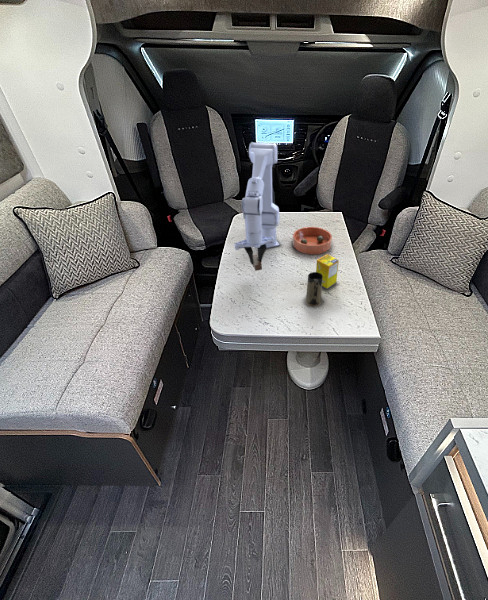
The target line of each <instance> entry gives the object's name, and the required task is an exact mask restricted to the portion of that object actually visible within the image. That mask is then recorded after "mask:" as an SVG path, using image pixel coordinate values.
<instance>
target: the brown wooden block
mask: <svg viewBox="0 0 488 600" xmlns="http://www.w3.org/2000/svg"><path fill="white" fill-rule="evenodd" d="M251 265H252V267H253V269H254V271H255V272H257V271H261V270H263V263H262V262H260V260H259V258H258V254H253V264H251Z"/></svg>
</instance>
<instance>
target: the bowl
mask: <svg viewBox="0 0 488 600" xmlns="http://www.w3.org/2000/svg"><path fill="white" fill-rule="evenodd" d="M318 236H322V237H323V238H324V240H323V242H321V243H319V242H318V241H317V237H318ZM302 239H306V240H307V244H303V243H301V240H302ZM332 241H333V235H332V234H331V232H330V231H328V230H327V229H324V228H321V227H319V226H318V227H317V226H306V227H305V226H304V227H301V228H298V229H297V230H295V231H294V232H293V234H292V245H293V248H294V249H295V250H296V251H298V252H300V253H303V254H305V255H320V254H321V255H322V254H324V253H326V252H328V251H329V250H330V249H331V247H332Z"/></svg>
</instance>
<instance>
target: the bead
mask: <svg viewBox="0 0 488 600" xmlns="http://www.w3.org/2000/svg"><path fill="white" fill-rule="evenodd" d="M323 240H324V238H323V237H322V236H318V237H317V241H318V242H319V243H321V242H323Z"/></svg>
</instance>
